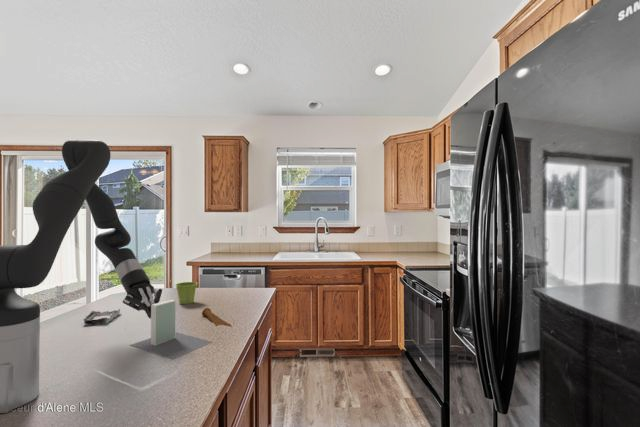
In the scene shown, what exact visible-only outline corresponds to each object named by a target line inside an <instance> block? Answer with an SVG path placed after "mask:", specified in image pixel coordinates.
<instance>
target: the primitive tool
mask: <svg viewBox="0 0 640 427" xmlns="http://www.w3.org/2000/svg"><path fill="white" fill-rule="evenodd" d="M201 315H202V316H203V317H206V318H207V319H208V320H209V321H210V322H211V323H212V324H213V325H215V327H218V326H226V327H230V328H232V325H231V324H230V323H228V322H227V321H225V320H223V319H222V318H220V317H219V316H218V315H216V314H214V313H213V312H212V310H211V309H210V308H208V307H206V308H204V309H203V310H202V312H201Z"/></svg>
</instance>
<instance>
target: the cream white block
mask: <svg viewBox="0 0 640 427" xmlns="http://www.w3.org/2000/svg"><path fill="white" fill-rule="evenodd" d="M176 306H177V304H176V299H175V300H174V299H169V300H165V301H161V302H160V301H159V303H156V304H152V305H151V318H150V338H151V345H154V346H155V345H158V344H161V343H163V342H166V341H169V340H171V339H174V338H175V332H176V315H177V314H176V311H177V310H176V309H177V308H176Z"/></svg>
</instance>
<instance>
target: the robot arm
mask: <svg viewBox="0 0 640 427" xmlns="http://www.w3.org/2000/svg"><path fill="white" fill-rule="evenodd" d="M61 156H62V158H63V162H64V164H65V166H66V168H67V171H65V172H63V173H60V174H59V175H57V176H56V177H53V178H52V179H51V180H49V181H48V182H47V183H45V185H43V186H42V189H41V190H40V191H39V192H38V194H37V195H36V196H35V198H34V200H33V202H32V212H33V217H34V219H35V221H36V223H37V226H38V230H37V233H36V235H35V236H34V238H33V239H32V240H31V242H30V243H29V242H28V244H17V245H16V244H13V245H11V244H9V245H8V244H6V245H4V244H3V245H1V244H0V414H8V413H9V412H11V411H12V410H14V409H16V408H20V407H23V406H24V405H26V404H29V403H30V402H32V401H33V400H35V399H36V398H37V397H38V396H39V395H40V357H41V356H40V354H41V353H40V352H41V351H40V349H41V348H40V344H41V343H40V340H41V338H40V335H41V332H40V331H41V306H40V303H38V302H36V301H33V300H31V299H27V298H25V297H23V296H21V295H19V294H18V293H17V292H16V290H15V289H29V288H35V287H38V286H39V285H40V284H42V283H44V281H45V279H46V278H47V277H48V275H49V273H50V271H51V270H52V267H53V266H54V262H55V260H56V258H57V255H58V253H59V251H60V248H61V245H62V243H63V241H64V238H65V236H66V234H67V232H68V231H69V229H70V227H71V225H72V223H73V221H74V220H75V218H76V217H77V215H78V213H79V212H80V210H81V209H82V207H83V204H84V203H85V201H86V203H87V206H88V208H89V211H90V214H91V217H92V219H93V222H94V224H95V226H96V228H98V229H100V230H107V229H108V231H105V232H101V233H99V234H97V235H96V236H95V237H94V245H95V247H96V249H98V250H99V251H100V252H101V253H102V255H104V256H105V257H106V258H107V259H108V260H109V261H110V262H111V264H112V266H113V268H114V270H115V272H116V276H117V278H118V279H119V282H120V283H121V285H122V287H123V288H124V291H125V293H126V296H125V297H124V299H122V303H123V304H124V305H126V306H128V307H130V308H132V309H133V310H136V311H138V312H140V311H144V312H145V314H146V316H147V317H148V319H151V305H152V304H156V303H160V300H161V297H162V292H163V289H162V288H159V289H156V288H155V287H154V286H153V285H152V284H151V281H150V278H149V276H148V274H147V272H146V271H145V269H144V267H143V266H142V264H141V263H140V261H138V259H137V256H136V255H135V253H134V252H133V250H132V249H131V248H129V247H126V246H129V245H130V243H131V238H132V237H131V235H130V233H129V232H128V230H127V229H126V228H125V226H124V225H123V223H122V222H121V220H120V218H119V214H118V211H117V209H116V206H115V203H114V201H113V200H112V198H111V196H109V195H108V194H107V192H105V191H104V190H103V189H102V188H101V187H100V186H99V185H97V181H98V180H99V178H100V177H101V176H102V174H103V173H105V171H106V169H107V168H108V166H109V164H110V162H111V161H110V160H111V156H112V154H111V150H110V147H109V146H108V144H107V143H105V142H104V141H102V140H97V139H68V140H66V141H65V142H64V143H63V144H62V148H61ZM109 229H111V230H109Z"/></svg>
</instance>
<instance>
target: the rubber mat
mask: <svg viewBox="0 0 640 427" xmlns="http://www.w3.org/2000/svg"><path fill="white" fill-rule="evenodd" d="M212 343H213V341H210V340H208V339H204V338H199V337H195V336H192V335H188V334H184V333H180V332H177V331H175V338H174V339H171V340H169V341H166V342H163V343H161V344H158V345H155V346H154V345H151V337H150V338H146V339H143V340H141V341H137V342H135V343H132V344H129V346H131V347H134V348H136V349H140V350H143V351H146V352H149V353H152V354H155V355H158V356H161V357H164V358H167V359H171V360H176V359H178V358H180V357H182V356H185V355H186V354H189V353H191V352H193V351H196V350H198V349H200V348H203V347H205V346H207V345H209V344H212Z"/></svg>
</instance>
